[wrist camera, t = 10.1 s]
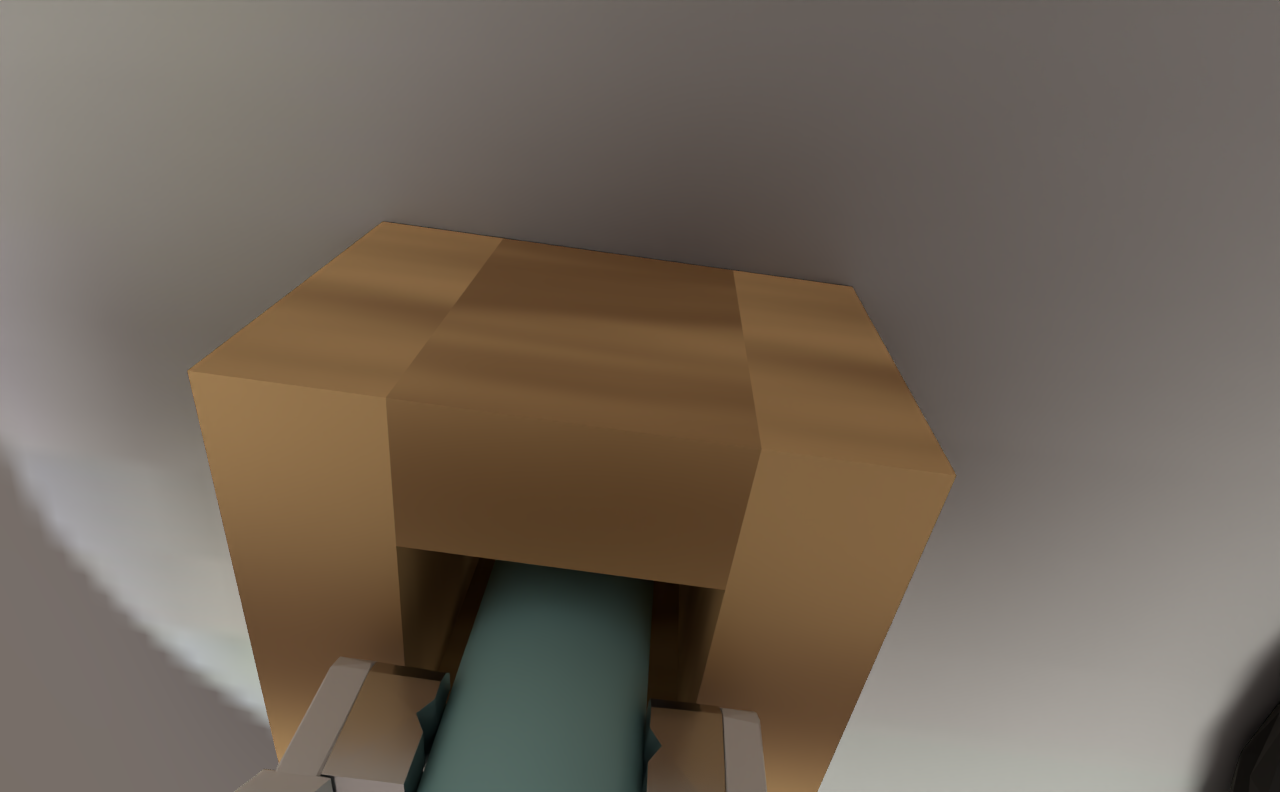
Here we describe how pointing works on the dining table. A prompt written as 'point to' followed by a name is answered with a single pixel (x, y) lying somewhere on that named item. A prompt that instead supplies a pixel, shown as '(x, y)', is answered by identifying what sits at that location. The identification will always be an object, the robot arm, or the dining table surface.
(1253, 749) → the cable lock
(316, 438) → the wooden square frame
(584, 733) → the teal peg
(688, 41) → the dining table surface
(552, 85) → the dining table surface
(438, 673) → the robot arm
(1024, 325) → the dining table surface
